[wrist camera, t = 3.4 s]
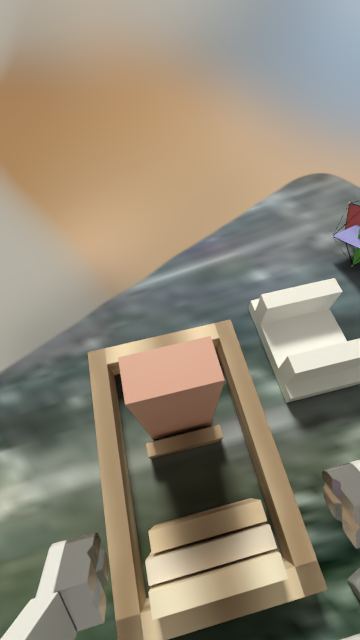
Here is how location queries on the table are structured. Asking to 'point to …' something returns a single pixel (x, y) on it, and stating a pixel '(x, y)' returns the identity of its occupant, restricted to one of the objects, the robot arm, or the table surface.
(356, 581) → the framed brown board
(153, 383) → the salmon pink brick
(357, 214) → the geometric puzzle
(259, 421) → the offcut rack
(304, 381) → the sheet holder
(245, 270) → the table surface
